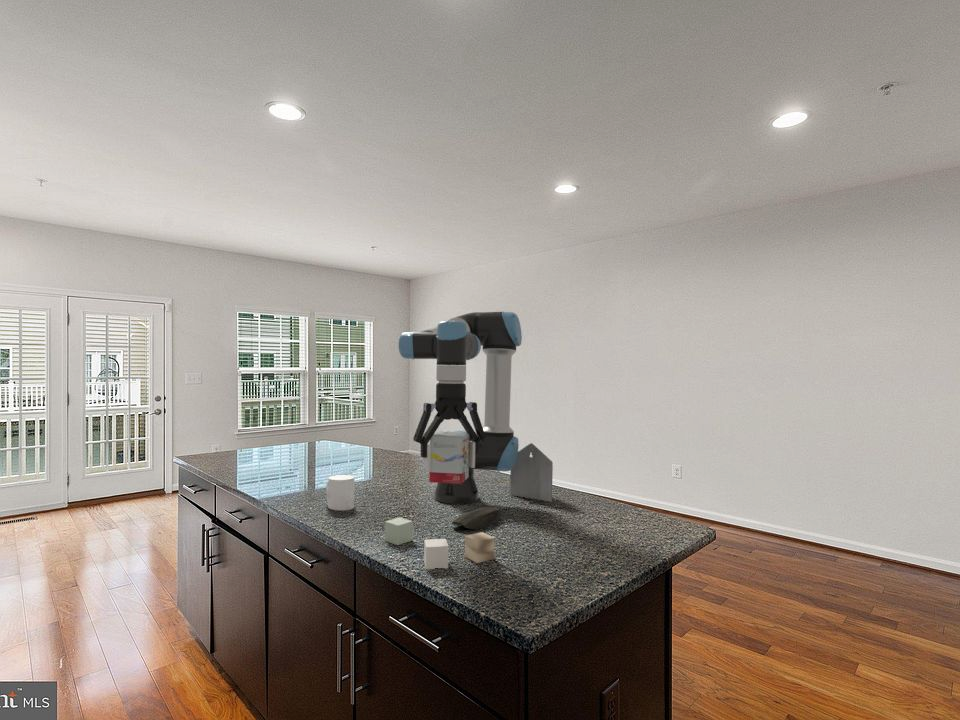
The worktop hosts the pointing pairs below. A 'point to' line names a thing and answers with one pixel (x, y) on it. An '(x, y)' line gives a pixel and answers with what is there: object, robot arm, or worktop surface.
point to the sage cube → (398, 531)
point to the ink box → (449, 457)
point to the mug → (340, 492)
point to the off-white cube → (436, 553)
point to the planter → (532, 475)
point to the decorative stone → (479, 518)
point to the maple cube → (479, 547)
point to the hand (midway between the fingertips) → (449, 468)
